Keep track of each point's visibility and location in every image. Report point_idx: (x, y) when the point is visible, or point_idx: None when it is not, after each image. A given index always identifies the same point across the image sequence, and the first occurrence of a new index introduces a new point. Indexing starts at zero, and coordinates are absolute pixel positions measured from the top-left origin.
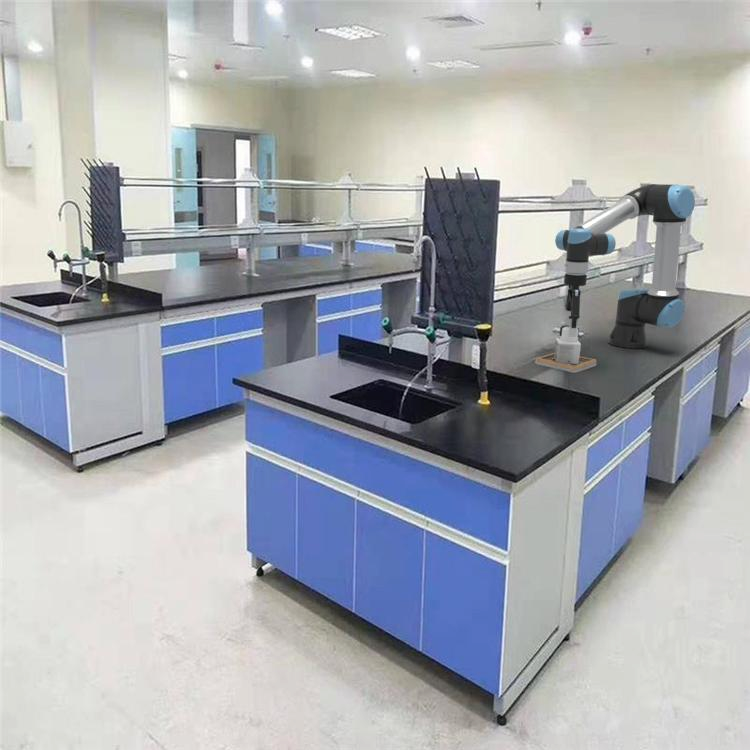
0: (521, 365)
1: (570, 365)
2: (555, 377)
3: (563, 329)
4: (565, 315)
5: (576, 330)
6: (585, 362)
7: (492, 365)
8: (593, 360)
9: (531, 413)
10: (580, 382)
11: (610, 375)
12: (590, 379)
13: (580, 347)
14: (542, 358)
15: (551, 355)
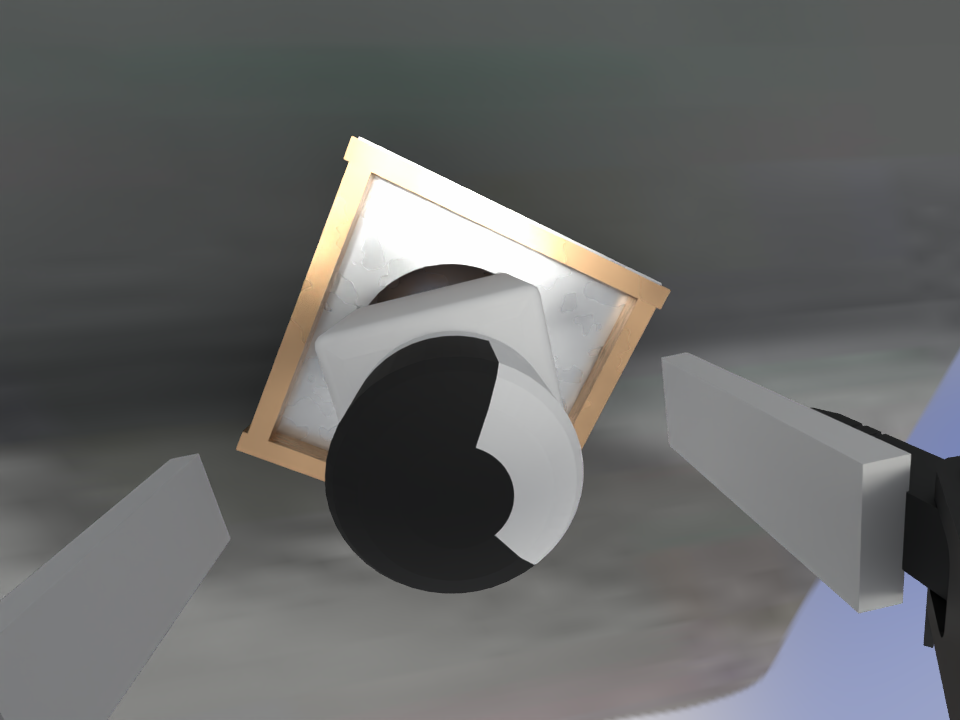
0: (594, 592)
1: (643, 323)
2: (798, 384)
3: (553, 546)
4: (96, 702)
5: (738, 384)
6: (500, 221)
7: (659, 712)
8: (398, 159)
9: None
10: (868, 230)
11: (618, 22)
12: (778, 169)
13: (525, 282)
14: None
15: None
